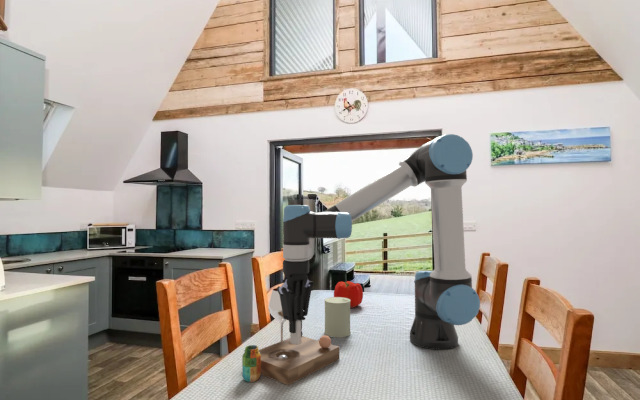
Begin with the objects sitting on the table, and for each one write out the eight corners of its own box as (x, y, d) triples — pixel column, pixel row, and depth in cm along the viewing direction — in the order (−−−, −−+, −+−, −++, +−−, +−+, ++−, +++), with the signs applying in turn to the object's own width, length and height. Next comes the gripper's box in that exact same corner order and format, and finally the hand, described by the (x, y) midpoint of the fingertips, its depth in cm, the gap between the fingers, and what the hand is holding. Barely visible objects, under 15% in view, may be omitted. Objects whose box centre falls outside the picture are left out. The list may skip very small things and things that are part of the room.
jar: (261, 375, 98) (261, 344, 98) (259, 383, 93) (259, 350, 93) (243, 375, 98) (244, 344, 98) (240, 383, 93) (240, 350, 93)
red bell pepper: (329, 303, 173) (329, 280, 174) (356, 301, 177) (356, 279, 178) (339, 311, 160) (340, 286, 161) (368, 308, 164) (368, 284, 165)
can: (348, 338, 126) (348, 302, 126) (321, 336, 128) (322, 301, 128) (352, 329, 135) (352, 296, 135) (326, 328, 137) (326, 295, 137)
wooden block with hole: (339, 359, 108) (339, 346, 108) (288, 385, 92) (288, 370, 92) (298, 346, 118) (298, 334, 118) (245, 368, 102) (246, 354, 102)
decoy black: (304, 339, 114) (304, 327, 114) (297, 342, 112) (297, 330, 112) (296, 336, 117) (296, 325, 117) (288, 339, 114) (288, 328, 114)
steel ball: (288, 371, 101) (293, 358, 103) (281, 367, 99) (286, 354, 101) (279, 368, 103) (284, 356, 105) (271, 364, 101) (277, 351, 103)
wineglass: (270, 353, 112) (270, 292, 113) (266, 344, 120) (267, 287, 121) (297, 350, 115) (297, 291, 115) (291, 341, 123) (292, 286, 123)
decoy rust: (333, 347, 107) (333, 335, 107) (326, 351, 105) (326, 338, 105) (324, 344, 110) (324, 332, 110) (316, 348, 107) (316, 335, 107)
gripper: (301, 256, 114) (301, 334, 113) (270, 260, 104) (269, 346, 103) (320, 258, 109) (320, 340, 109) (289, 262, 99) (288, 353, 98)
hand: (295, 343), depth 106 cm, fingers closed
